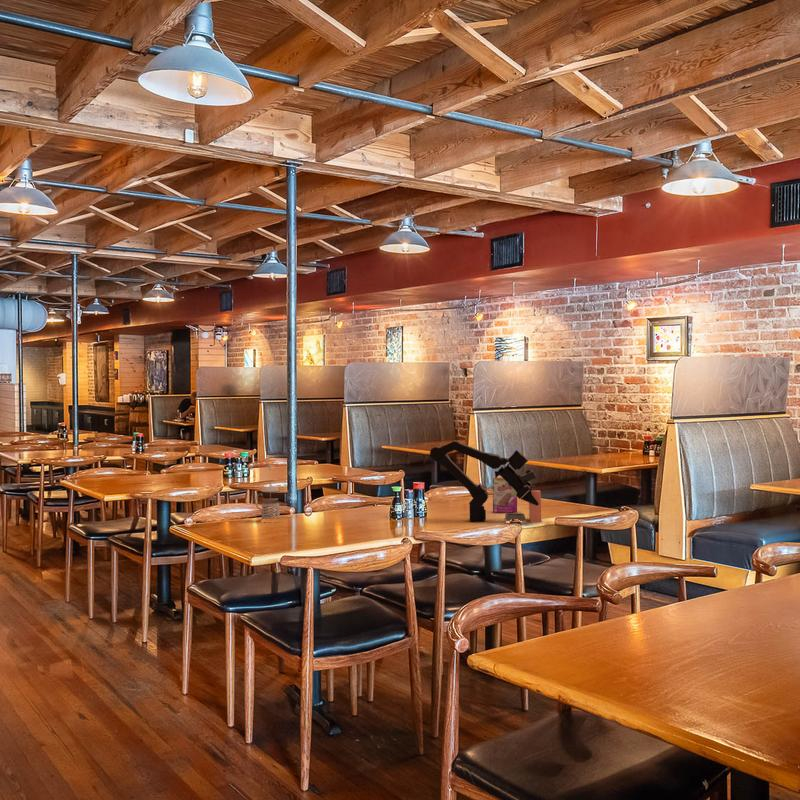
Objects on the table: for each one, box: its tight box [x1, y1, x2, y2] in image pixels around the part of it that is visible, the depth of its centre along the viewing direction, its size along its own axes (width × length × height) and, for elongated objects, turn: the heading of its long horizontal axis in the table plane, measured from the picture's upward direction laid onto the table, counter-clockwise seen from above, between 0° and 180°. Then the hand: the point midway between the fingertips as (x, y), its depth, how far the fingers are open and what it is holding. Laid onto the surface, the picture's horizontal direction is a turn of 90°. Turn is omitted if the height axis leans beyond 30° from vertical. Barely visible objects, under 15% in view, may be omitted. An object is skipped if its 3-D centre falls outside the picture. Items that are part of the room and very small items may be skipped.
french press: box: [254, 464, 281, 520], centre depth 369 cm, size 10×12×25 cm
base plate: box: [504, 512, 527, 524], centre depth 354 cm, size 8×8×3 cm
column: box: [528, 489, 542, 523], centre depth 353 cm, size 4×4×13 cm
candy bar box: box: [492, 475, 518, 514], centre depth 381 cm, size 11×5×16 cm, turn 84°
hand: (538, 503), depth 353 cm, fingers open, 7 cm apart
